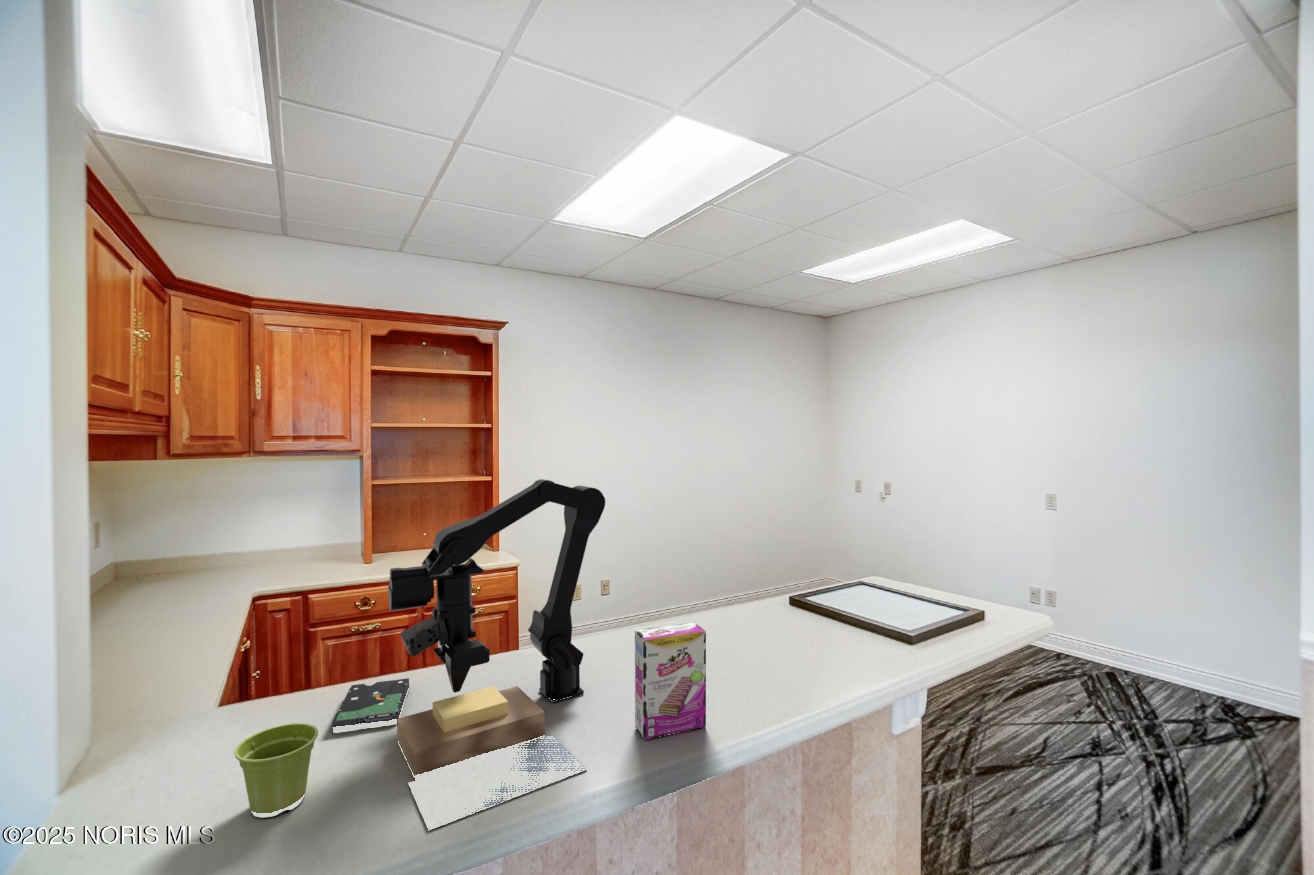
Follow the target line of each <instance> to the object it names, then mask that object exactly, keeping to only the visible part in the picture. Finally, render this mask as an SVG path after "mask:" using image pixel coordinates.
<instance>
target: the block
mask: <svg viewBox="0 0 1314 875" xmlns="http://www.w3.org/2000/svg"><path fill="white" fill-rule="evenodd" d="M499 691H500V690H498V689H497V688H496V687H495V686H489V687H484V688H482V689H478V690H474V691H471V692H467V693H463V694H459V695H455V696H452V697H447V698H444V699H441V700H436V701H432V709H433V716H434V717H435V719H436V721H437V722H438V724H439V725H440V727H441V728H442V730H443V732H444V733H445V732H448V731H452V730H455V729H459V728H462V727H465V726H469V725H472V724H475V723H479V722H482V721H485V720H489V719H492V718H495V717H499V716H502V715H506V714H508V701H507V700H506V699H505V698H504V697H503V696H502V695H501V694H500V692H499Z"/></svg>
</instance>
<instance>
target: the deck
mask: <svg viewBox="0 0 1314 875" xmlns="http://www.w3.org/2000/svg"><path fill="white" fill-rule="evenodd" d="M498 691H499V692H500V694H501V695H502V696H503V697H504V698H505V699H506V700H507V701H508V714H506V715H502V716H499V717H495V718H492V719H489V720H485V721H482V722H479V723H475V724H472V725H469V726H465V727H462V728H459V729H455V730H452V731H448V732H445V733H444V732H443V730H442V728H441V727H440V725H439V724H438V722H437V721H436V719H435V717H434V716H433V708H432V709H427V710H425V711H422V712H417V713H414V714H410V715H406V716H401V718H398V719H397V725H396V732H397V733H396V734H397V739H398V741H399V744H400V746H401V748H402V750H403V753H404V755H405V757H406V759H407V762H408V764H409V766H410V768H411V770H412V772H413V774H414V776H415V775H417V774H422V773H424V772H429V771H432V770H434V769H437V768H440V767H444V766H446V765H450V764H453V763H457V762H459V761H463V760H465V759H469V758H471V757H475V756H477V755H481V754H483V753H488V752H490V751H494V750H497V749H501V748H506V747H508V746H512V745H515V744H518V743H521V742H524V741H528V740H532V739H534V738H538V737H540V736H543V735H545V736H546V713H545V711H544V710H543V709H542V708H541V707H540V706H539V705H538V704H537V703H536V702H535V701H534V700H533V699H532V698H531V697H530V696H528V695H527V693H525V692H524V690H522V688H520V687H519V686H517V685H515V686H513V687H510V688H505V689H502V690H498ZM397 739H396V740H397Z"/></svg>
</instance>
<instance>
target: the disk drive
mask: <svg viewBox="0 0 1314 875" xmlns="http://www.w3.org/2000/svg"><path fill="white" fill-rule="evenodd" d="M408 688H409V689H410V678H409V677H408V678H399V679H394V680H393V679H392V680H383V681H376V682H375V683H374V684H371V685H366V684H365V683H359V684H352V685H351V686H350V688H349V689H348V690H347V691H348V692H347V694H346V695H345V697H344V698H343V700H342V703H341V704H340V707H339V708H338V710H337V712H336V713H335V715H334V718H333V720H332V722H331V727H336V726H345V725H355V724H359V723H360V724H361V723H371V722H378V721H389V720H392V719H398V718H399V715H400V712H401V708H402V705H403V702H404V699H405V696H406V693H407V690H408Z"/></svg>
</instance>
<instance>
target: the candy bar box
mask: <svg viewBox="0 0 1314 875" xmlns="http://www.w3.org/2000/svg"><path fill="white" fill-rule="evenodd" d="M706 632H707V631H706V630H705V629H704V628H702V627H701V626H700V625H698V624H697V623H696V622H689V623H681V624H673V625H667V626H658V627H651V628H644V629H643V628H642V629H636V630H634V721H635V722H634V723H635V729H636V728H637V729H636V730H637V732H638V731H639V732H640V733H639V732H638V733H639V735H640V734H641V735H642V736H641V735H640V736H641V738H642V737H643V738H644V739H643V738H642V739H643V740H644V741H648V740H647V739H649V740H652V739H651V738H654V739H657V738H656V737H659V736H663V737H665V736H664V735H668V734H673V733H677V734H679V733H678V732H682V733H685V732H684V731H687V730H688V731H687V732H690V731H689V730H691V731H694V730H693V729H696V730H698V729H697V728H701V729H704V728H703V727H705V728H706V727H707V726H706V725H707V678H706V676H707V661H706V660H707V633H706ZM673 735H674V734H673ZM668 736H669V735H668ZM659 738H660V737H659Z"/></svg>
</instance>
